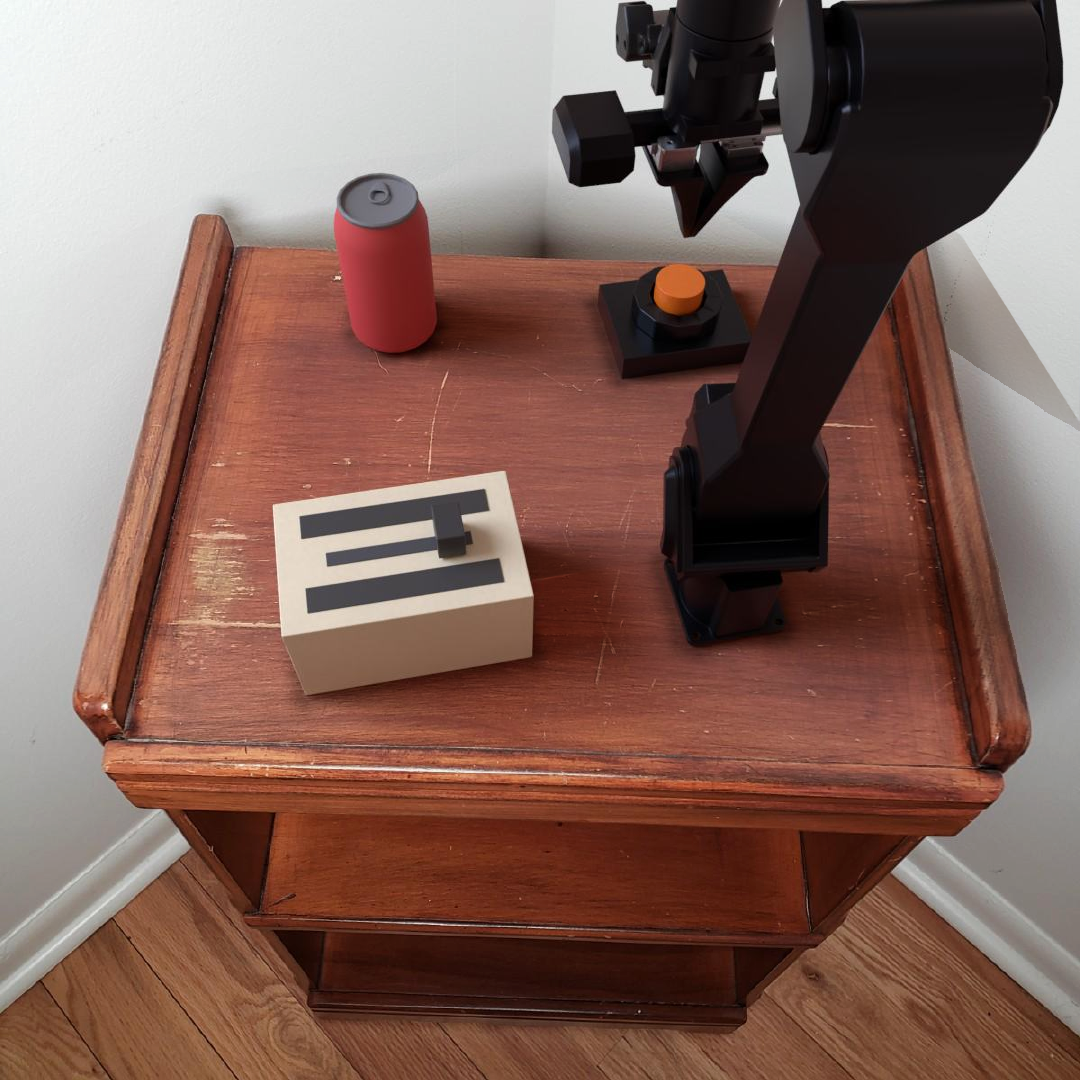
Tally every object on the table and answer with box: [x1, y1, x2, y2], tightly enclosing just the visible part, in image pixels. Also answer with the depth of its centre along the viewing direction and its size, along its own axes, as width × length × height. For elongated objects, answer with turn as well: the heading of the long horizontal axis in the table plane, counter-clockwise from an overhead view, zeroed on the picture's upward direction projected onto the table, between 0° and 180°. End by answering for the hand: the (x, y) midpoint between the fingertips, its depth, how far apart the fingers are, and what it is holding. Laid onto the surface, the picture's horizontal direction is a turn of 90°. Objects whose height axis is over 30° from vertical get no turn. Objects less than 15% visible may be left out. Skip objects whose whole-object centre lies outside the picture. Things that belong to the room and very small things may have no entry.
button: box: [654, 263, 705, 315], centre depth 75 cm, size 4×4×2 cm
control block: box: [597, 264, 753, 380], centre depth 77 cm, size 8×10×4 cm
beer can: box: [333, 172, 438, 354], centre depth 74 cm, size 7×7×12 cm
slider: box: [431, 502, 466, 558], centre depth 58 cm, size 2×2×2 cm
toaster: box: [272, 470, 535, 696], centre depth 62 cm, size 9×14×8 cm, turn 101°
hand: (687, 233), depth 71 cm, fingers closed
